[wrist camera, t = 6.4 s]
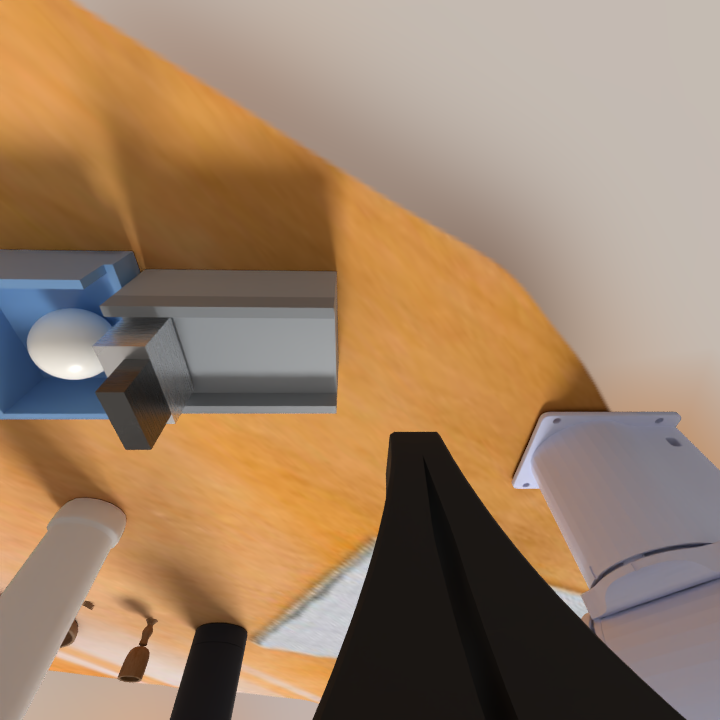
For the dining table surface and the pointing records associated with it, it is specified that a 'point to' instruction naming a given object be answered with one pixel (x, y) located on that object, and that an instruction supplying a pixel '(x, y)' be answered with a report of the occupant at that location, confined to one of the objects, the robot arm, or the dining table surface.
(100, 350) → the grey angular hollow piece
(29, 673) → the bottle
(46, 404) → the open box
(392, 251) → the dining table surface
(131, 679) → the place setting
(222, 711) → the wine bottle
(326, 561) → the dining table surface
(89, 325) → the ball
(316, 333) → the open gray tray
